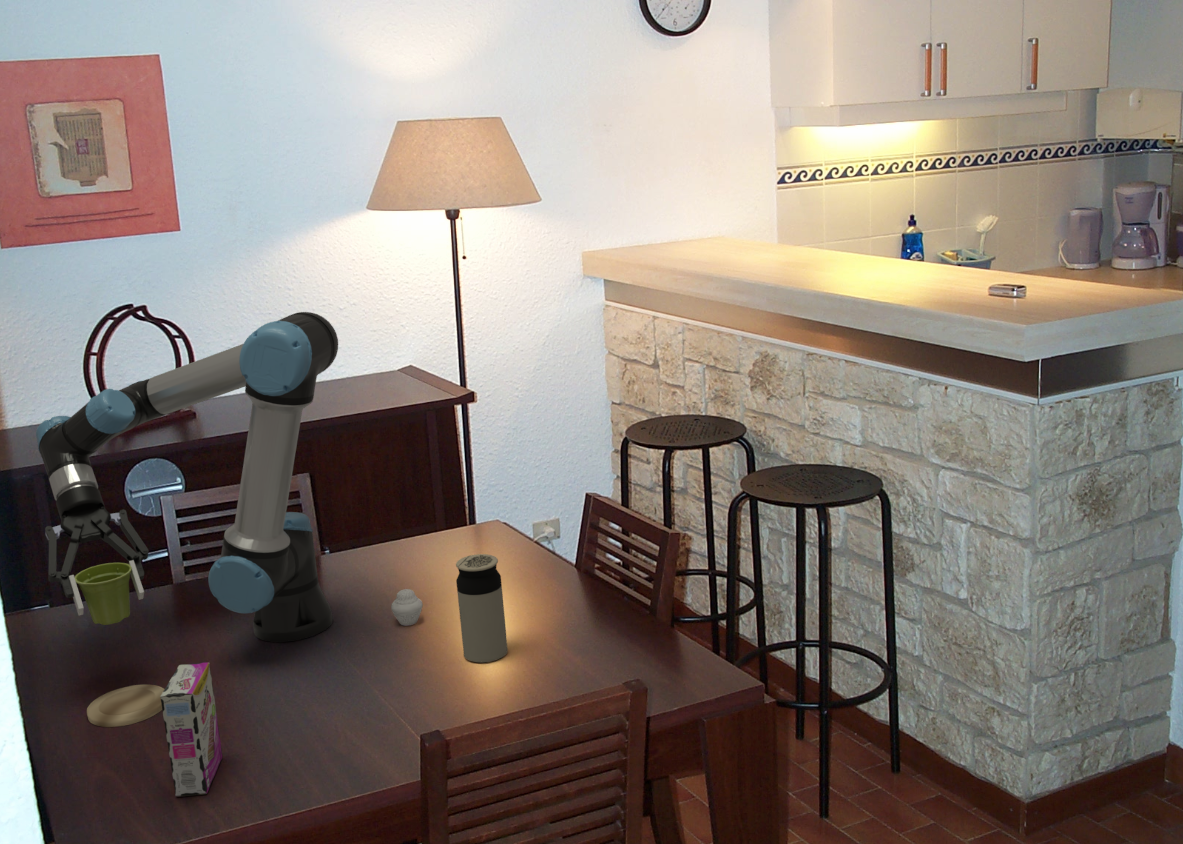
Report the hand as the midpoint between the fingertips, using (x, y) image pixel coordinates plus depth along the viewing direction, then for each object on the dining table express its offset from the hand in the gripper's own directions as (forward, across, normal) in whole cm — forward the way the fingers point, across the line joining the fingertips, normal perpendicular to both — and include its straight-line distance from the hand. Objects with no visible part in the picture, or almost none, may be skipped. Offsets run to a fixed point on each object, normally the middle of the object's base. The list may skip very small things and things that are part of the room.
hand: (111, 603), depth 206 cm
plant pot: (+1, 0, -5) cm, 5 cm away
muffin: (+16, -52, -9) cm, 55 cm away
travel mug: (+32, -56, +8) cm, 66 cm away
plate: (+16, +1, -8) cm, 18 cm away
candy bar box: (+38, -2, +14) cm, 41 cm away
